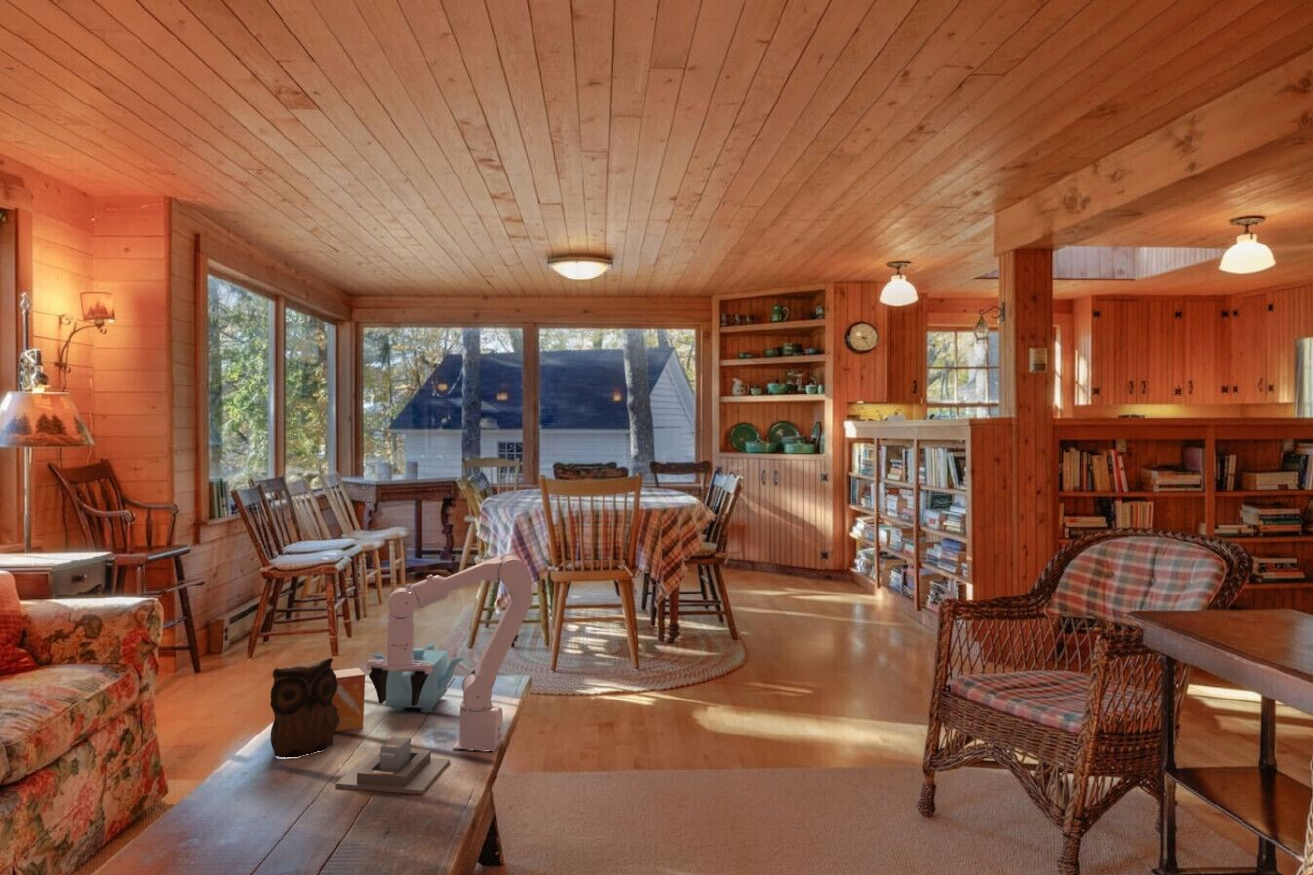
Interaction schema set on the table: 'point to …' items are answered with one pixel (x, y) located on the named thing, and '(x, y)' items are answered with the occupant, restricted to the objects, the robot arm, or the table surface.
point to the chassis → (395, 774)
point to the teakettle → (432, 688)
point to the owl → (303, 708)
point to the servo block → (395, 754)
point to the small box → (349, 698)
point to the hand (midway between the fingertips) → (398, 703)
